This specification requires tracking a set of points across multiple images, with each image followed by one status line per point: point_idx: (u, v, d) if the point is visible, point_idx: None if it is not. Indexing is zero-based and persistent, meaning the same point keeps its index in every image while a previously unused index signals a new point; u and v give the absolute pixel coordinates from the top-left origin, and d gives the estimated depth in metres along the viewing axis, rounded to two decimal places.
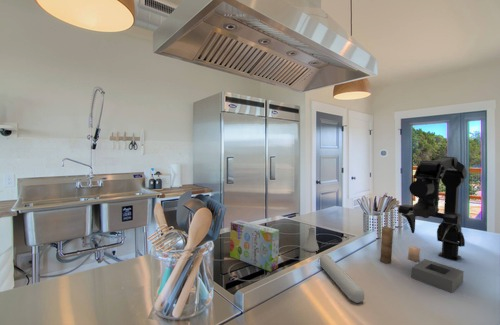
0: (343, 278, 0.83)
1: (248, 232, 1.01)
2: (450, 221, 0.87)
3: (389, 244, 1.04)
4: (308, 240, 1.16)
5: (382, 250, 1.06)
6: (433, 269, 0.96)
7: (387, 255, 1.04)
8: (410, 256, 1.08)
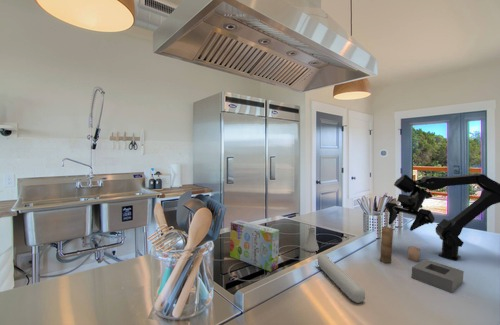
0: (343, 278, 0.83)
1: (248, 232, 1.01)
2: (424, 212, 1.04)
3: (389, 244, 1.04)
4: (308, 240, 1.16)
5: (382, 250, 1.06)
6: (433, 269, 0.96)
7: (387, 255, 1.04)
8: (410, 256, 1.08)
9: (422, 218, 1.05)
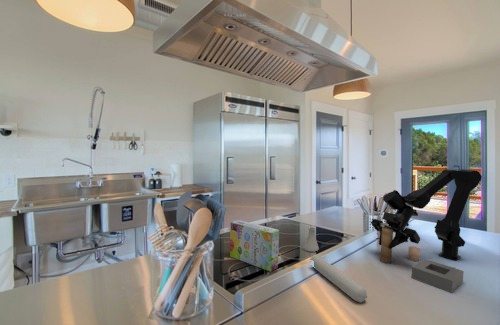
0: (343, 278, 0.83)
1: (248, 232, 1.01)
2: (409, 232, 1.00)
3: (389, 244, 1.04)
4: (308, 240, 1.16)
5: (382, 250, 1.06)
6: (433, 269, 0.96)
7: (387, 255, 1.04)
8: (410, 256, 1.08)
9: (401, 236, 1.03)
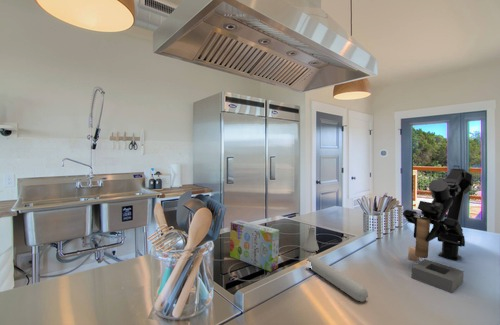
0: (343, 278, 0.83)
1: (248, 232, 1.01)
2: (450, 223, 0.89)
3: (426, 237, 0.94)
4: (308, 240, 1.16)
5: (417, 244, 0.95)
6: (433, 269, 0.96)
7: (424, 248, 0.94)
8: (410, 256, 1.08)
9: (440, 228, 0.93)
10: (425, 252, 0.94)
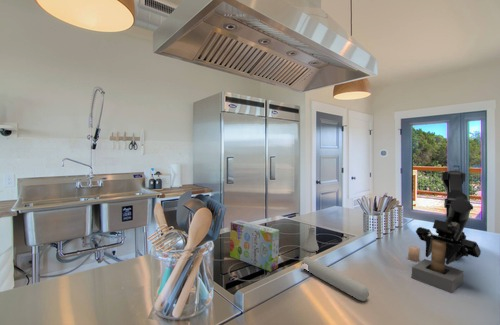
0: (343, 279, 0.83)
1: (248, 232, 1.01)
2: (468, 244, 0.86)
3: (442, 260, 0.90)
4: (308, 240, 1.16)
5: (433, 267, 0.91)
6: None
7: (440, 272, 0.90)
8: (410, 256, 1.08)
9: (460, 249, 0.88)
10: None
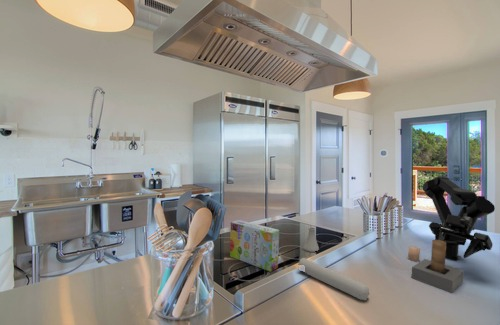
0: (343, 279, 0.83)
1: (248, 232, 1.01)
2: (480, 237, 0.90)
3: (442, 260, 0.90)
4: (308, 240, 1.16)
5: (433, 267, 0.91)
6: None
7: (440, 272, 0.90)
8: (410, 256, 1.08)
9: (478, 244, 0.91)
10: None
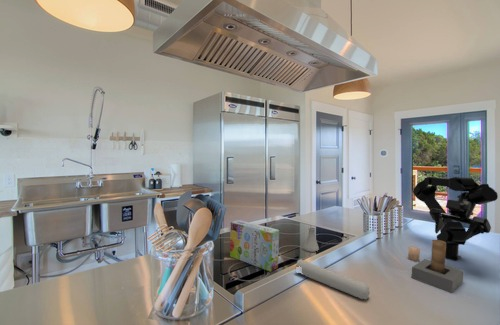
0: (343, 279, 0.83)
1: (248, 232, 1.01)
2: (479, 220, 0.93)
3: (442, 260, 0.90)
4: (308, 240, 1.16)
5: (433, 267, 0.91)
6: None
7: (440, 272, 0.90)
8: (410, 256, 1.08)
9: (477, 227, 0.94)
10: None
